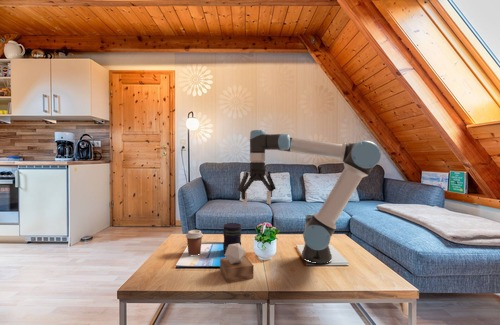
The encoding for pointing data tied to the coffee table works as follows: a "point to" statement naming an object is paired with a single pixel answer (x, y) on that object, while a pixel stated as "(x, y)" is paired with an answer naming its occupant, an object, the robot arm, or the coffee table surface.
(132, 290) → the coffee table surface
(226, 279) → the walnut block
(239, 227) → the storage jar
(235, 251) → the die
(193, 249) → the coffee cup
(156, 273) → the coffee table surface
